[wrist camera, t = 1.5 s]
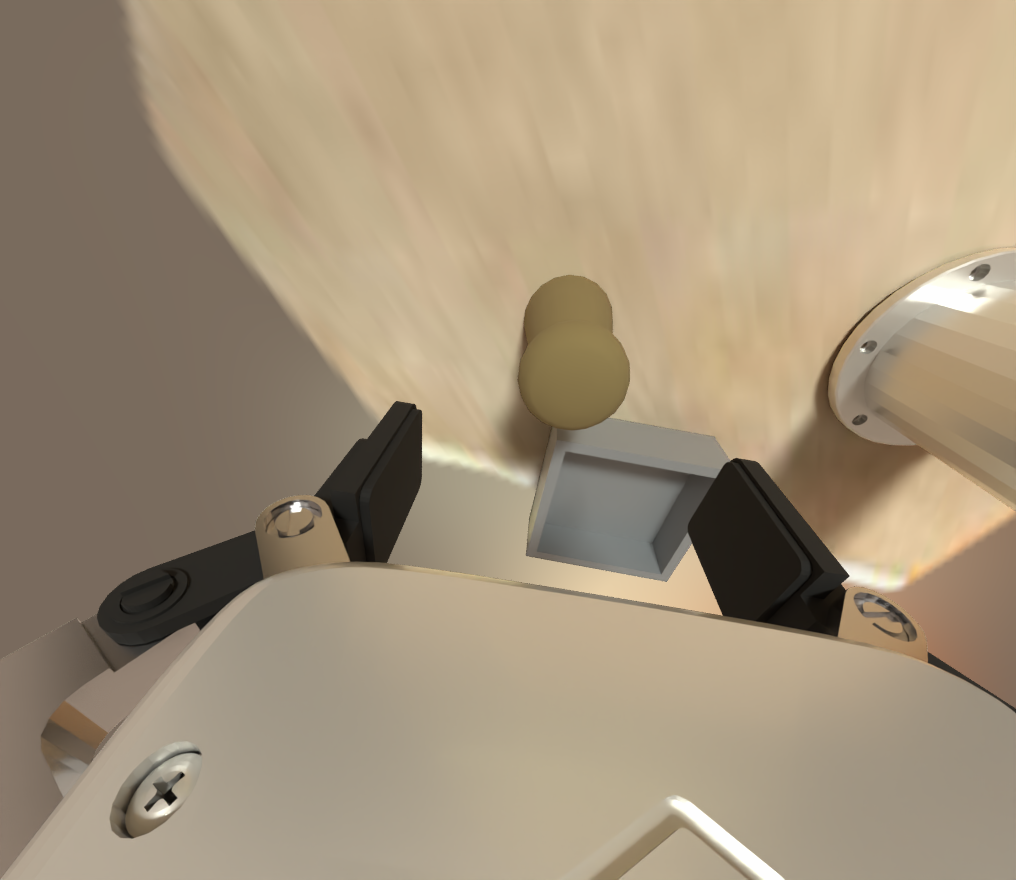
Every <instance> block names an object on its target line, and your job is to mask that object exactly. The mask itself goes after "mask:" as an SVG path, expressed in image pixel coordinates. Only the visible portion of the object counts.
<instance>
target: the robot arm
mask: <svg viewBox="0 0 1016 880" xmlns="http://www.w3.org/2000/svg"><path fill="white" fill-rule="evenodd" d="M828 397H829V402H830V406H831V409H832V410H833V412H834V414H835V416H836V417H837V419H838V420H839V421H840V422H841V423H843V424H844V425H845V426H846V427H847V428H848V429H850V430H851V431H853V432H854V433H855V434H857V435H858V436H860V437H862V438H864V439H867V440H870V441H872V442H875V443H881V444H887V445H904V446H911V445H918V446H920V447H921V448H923V449H924V450H926V451H927V452H929V453H930V454H932V455H933V456H935V457H936V458H938V459H939V460H941V461H942V462H943V463H945V464H946V465H948V466H949V467H951V468H952V469H954V470H955V471H957V472H958V473H960V474H961V475H963V476H964V477H966V478H967V479H969V480H970V481H971V482H973V483H974V484H976V485H977V486H979V487H980V488H982V489H983V490H985V491H986V492H988V493H989V494H991V495H992V496H994V497H995V498H997V499H998V500H999V501H1001V502H1002V503H1004V504H1005V505H1007V506H1008V507H1010V508H1011V509H1013V510H1014V511H1016V247H1008V248H998V249H993V250H989V251H984V252H979V253H974V254H971V255H968V256H966V257H963V258H960V259H957V260H954V261H951V262H948V263H946V264H944V265H942V266H940V267H938V268H936V269H933V270H931V271H929V272H927V273H925V274H923V275H921V276H919V277H918V278H916V279H915V280H913V281H911V282H910V283H908V284H907V285H905V286H904V287H902V288H900V289H899V290H897V291H896V292H894V293H893V294H892V295H891V296H890V297H888V298H887V299H886V300H885V301H883V302H882V303H881V304H880V305H878V306H877V307H876V308H875V309H874V310H873V311H872V312H871V313H870V314H869V315H868V316H867V317H866V318H865V319H864V320H863V321H862V322H861V323H860V324H859V325H858V326H857V327H856V328H855V330H854V331H853V332H852V334H851V335H850V336H849V338H848V339H847V341H846V342H845V343H844V345H843V346H842V348H841V350H840V352H839V354H838V356H837V358H836V360H835V361H834V364H833V367H832V370H831V374H830V377H829V384H828ZM421 479H422V411H421V410H418V409H416V405H415V404H411V403H405V402H399V401H396V402H395V403H394V404H393V405H392V407H391V408H390V409H389V411H388V412H387V413H386V415H385V416H384V417H383V419H382V420H381V421H380V423H379V424H378V425H377V427H376V428H375V429H374V431H373V432H372V433H371V435H370V436H369V437H368V439H359V440H358V441H357V442H356V443H355V445H354V446H353V447H352V449H351V450H350V451H349V452H348V454H347V455H346V456H345V457H344V459H343V460H342V461H341V463H340V464H339V465H338V466H337V468H336V469H335V470H334V471H333V473H332V474H331V476H330V477H329V478H328V479H327V480H326V482H325V483H324V484H323V486H322V487H321V488H320V490H319V491H318V492H317V493H316V494H315V496H310V495H297V496H291V497H287V498H284V499H281V500H279V501H276V502H275V503H273V504H271V505H270V506H268V507H267V508H266V509H265V510H264V511H263V512H261V513H260V515H259V516H258V518H257V520H256V523H255V531H252V532H250V533H247V534H244V535H241V536H238V537H235V538H233V539H230V540H227V541H224V542H222V543H219V544H216V545H213V546H211V547H208V548H205V549H202V550H199V551H197V552H194V553H191V554H188V555H186V556H183V557H180V558H177V559H175V560H172V561H169V562H166V563H163V564H160V565H158V566H155V567H152V568H149V569H147V570H145V571H143V572H140V573H138V574H136V575H134V576H132V577H131V578H129V579H127V580H126V581H125V582H123V583H121V584H120V585H119V586H118V587H116V588H115V589H114V590H113V591H112V592H111V593H110V594H109V595H108V596H107V597H106V599H105V600H104V601H103V603H102V604H101V606H100V608H99V611H98V613H97V614H96V615H94V616H92V617H90V618H89V619H87V620H85V621H83V622H80V621H79V620H78V619H77V618H75V619H73V620H71V621H70V622H68V623H66V624H64V625H62V626H60V627H59V628H57V629H55V630H53V631H52V632H50V633H48V634H46V635H44V636H42V637H40V638H39V639H37V640H35V641H33V642H32V643H30V644H28V645H26V646H24V647H22V648H21V649H19V650H17V651H15V652H13V653H11V654H10V655H8V656H6V657H4V658H2V659H1V660H0V880H1016V709H1015V708H1014V707H1012V706H1011V705H1009V704H1008V703H1006V702H1005V701H1003V700H1001V699H1000V698H998V697H997V696H995V695H994V694H992V693H991V692H989V691H988V690H986V689H984V688H983V687H981V686H980V685H978V684H977V683H975V682H974V681H972V680H971V679H969V678H967V677H966V676H964V675H963V674H961V673H960V672H958V671H957V670H955V669H954V668H952V667H950V666H949V665H947V664H946V663H944V662H943V661H941V660H940V659H938V658H936V657H935V656H933V655H932V654H930V653H929V652H927V640H926V637H925V633H924V631H923V630H922V629H921V627H920V626H919V624H918V623H917V622H916V621H915V620H914V619H913V617H911V615H910V614H909V613H907V612H906V611H905V610H904V609H903V608H901V607H900V606H899V605H898V604H896V603H895V602H893V601H891V600H890V599H889V598H887V597H886V596H883V595H881V594H879V593H877V592H875V591H873V590H870V589H867V588H864V587H855V586H854V587H851V588H848V589H847V590H845V589H844V587H843V586H842V585H841V583H842V582H844V581H845V580H846V579H847V578H848V577H849V575H848V573H847V572H846V571H845V570H844V568H843V567H842V566H841V565H840V563H839V562H838V561H837V560H836V558H835V557H834V556H833V555H832V553H831V552H830V551H829V550H828V548H827V547H826V546H825V545H824V544H823V542H822V541H821V540H820V539H819V537H818V536H817V535H816V534H815V532H814V531H813V530H812V529H811V527H810V526H809V525H808V524H807V522H806V521H805V520H804V519H803V517H802V516H801V515H800V514H799V513H798V511H797V510H796V509H795V508H794V506H793V505H792V504H791V503H790V501H789V500H788V499H787V498H786V496H785V495H784V494H783V493H782V491H781V490H780V489H779V488H778V486H777V485H776V484H775V483H774V482H773V480H772V479H771V478H770V477H769V475H768V474H767V473H766V472H765V470H764V469H763V468H762V467H761V465H760V464H759V463H758V462H756V461H751V460H745V459H739V458H735V459H733V460H731V461H730V462H727V463H725V464H724V465H723V467H722V469H721V470H720V472H719V474H718V475H717V477H716V479H715V480H714V482H713V483H712V485H711V487H710V488H709V490H708V492H707V493H706V495H705V496H704V498H703V500H702V501H701V503H700V505H699V506H698V508H697V510H696V511H695V513H694V514H693V516H692V518H691V519H690V521H689V523H688V534H689V537H690V539H691V542H692V544H693V546H694V549H695V550H696V553H697V555H698V558H699V560H700V563H701V565H702V567H703V570H704V572H705V574H706V577H707V579H708V582H709V584H710V586H711V588H712V591H713V593H714V596H715V598H716V600H717V603H718V605H719V607H720V610H721V612H722V615H723V616H721V615H715V614H709V613H703V612H697V611H692V610H686V609H680V608H673V607H668V606H662V605H656V604H650V603H644V602H637V601H632V600H626V599H620V598H614V597H608V596H602V595H596V594H590V593H584V592H577V591H571V590H565V589H559V588H553V587H547V586H540V585H534V584H528V583H522V582H515V581H509V580H503V579H496V578H490V577H484V576H478V575H471V574H465V573H457V572H451V571H443V570H437V569H430V568H422V567H415V566H409V565H399V564H389V563H387V561H388V559H389V556H390V554H391V552H392V550H393V547H394V545H395V543H396V541H397V538H398V536H399V534H400V531H401V529H402V527H403V525H404V522H405V520H406V518H407V516H408V513H409V511H410V509H411V507H412V504H413V502H414V500H415V497H416V495H417V493H418V491H419V488H420V485H421ZM128 715H129V716H128ZM127 716H128V717H127ZM125 717H127V718H126V719H125V721H124V722H123V723H122V724H121V726H120V727H119V728H118V729H117V730H116V732H115V733H114V734H113V736H112V737H111V738H110V739H109V741H108V742H107V743H106V745H105V746H104V747H103V748H102V749H101V751H100V752H99V753H98V755H97V756H96V757H95V759H94V760H93V757H94V754H95V751H96V749H97V748H98V746H99V745H100V744H101V742H102V741H103V739H104V738H105V737H106V735H107V734H108V733H109V732H110V731H111V730H112V729H113V728H114V727H115V726H116V725H117V724H118V723H120V722H121V721H122V720H123V719H124V718H125ZM199 754H201V755H202V757H201V756H200V755H199ZM92 760H93V761H92ZM181 771H182V772H183V773H182V774H181Z"/></svg>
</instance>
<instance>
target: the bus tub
mask: <svg viewBox="0 0 1016 880" xmlns="http://www.w3.org/2000/svg"><path fill="white" fill-rule="evenodd" d="M727 462H730V460H729V458H728V457H727V455H726V454H725V452H724V451H723V449H722V448H721V446H720V445H719V443H718V442H717V440H716V439H715V437H713V436H707V435H701V434H696V433H690V432H685V431H679V430H673V429H668V428H662V427H657V426H651V425H645V424H640V423H634V422H629V421H623V420H617V419H612V418H607V419H606V420H604V421H603V422H602V423H599V424H597V425H594V426H592V427H589V428H587V429H581V430H572V431H571V430H564V429H557V428H554V427H552V429H551V433H550V437H549V441H548V445H547V449H546V453H545V457H544V461H543V465H542V469H541V473H540V477H539V481H538V485H537V489H536V493H535V497H534V502H533V506H532V510H531V513H530V518H529V527H528V539H527V550H526V556H530V557H535V558H541V559H546V560H551V561H557V562H562V563H568V564H573V565H579V566H584V567H589V568H595V569H601V570H606V571H611V572H617V573H622V574H627V575H633V576H638V577H644V578H649V579H654V580H661V581H665V582H667V581H668V579H669V578H670V576H671V575H672V573H673V571H674V570H675V568H676V567H677V565H678V564H679V562H680V561H681V559H682V558H683V556H684V555H685V553H686V552H687V550H688V549H689V547H690V545H691V544H692V542H691V539H690V537H689V534H688V523H689V521H690V519H691V518H692V516H693V514H694V513H695V511H696V510H697V508H698V506H699V505H700V503H701V501H702V500H703V498H704V496H705V495H706V493H707V492H708V490H709V488H710V487H711V485H712V483H713V482H714V480H715V479H716V477H717V475H718V474H719V472H720V470H721V469H722V467H723V465H724V464H725V463H727Z"/></svg>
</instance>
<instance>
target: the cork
mask: <svg viewBox="0 0 1016 880" xmlns="http://www.w3.org/2000/svg"><path fill="white" fill-rule="evenodd" d="M524 328H525V333H526V338H527V343H528V346H527V348H526V350H525V352H524V354H523V356H522V358H521V361H520V366H519V374H518V384H519V388H520V393H521V396H522V399H523V401H524V403H525V404H526V406H527V408H528V409H529V411H530V412H531V413H532V414H533V415H534V416H535V417H537V418H538V419H539V420H540V421H541V422H543V423H545V424H548V425H550V426H552V427H554V428H557V429H564V430H571V431H572V430H581V429H587V428H589V427H592V426H594V425H597V424H599V423H602V422H603V421H604V420H606V419H607V418H608V417H610V416H611V415H612V414H614V413H615V412H616V410H617V409H618V407H619V406H620V405H621V403H622V402H623V401H624V399H625V395H626V392H627V389H628V386H629V382H630V364H629V360H628V358H627V356H626V353H625V351H624V348H623V346H622V344H621V343H620V342H619V340H618V339H617V338H616V337H615V336H614V335H613V334H612V333H613V319H612V307H611V304H610V302H609V299H608V297H607V294H606V293H605V292H604V291H603V290H602V289H601V288H600V287H599V285H598V284H597V283H595V282H593V281H591V280H589V279H587V278H585V277H581V276H573V275H567V276H562V277H557V278H554V279H552V280H550V281H549V282H547V283H545V284H543V285H542V286H541V287H540V288H539V289H538V290H537V291H536V292H535V293H534V294H533V296H532V297H531V299H530V301H529V303H528V305H527V308H526V310H525V318H524Z"/></svg>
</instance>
